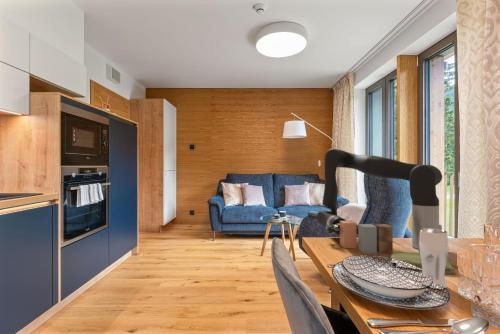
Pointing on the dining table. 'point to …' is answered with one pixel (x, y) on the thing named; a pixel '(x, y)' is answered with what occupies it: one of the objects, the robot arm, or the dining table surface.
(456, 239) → the dining table surface
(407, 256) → the washcloth
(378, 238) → the walnut block
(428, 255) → the beer glass
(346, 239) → the terracotta block
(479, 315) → the dining table surface
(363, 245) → the slate-grey block
